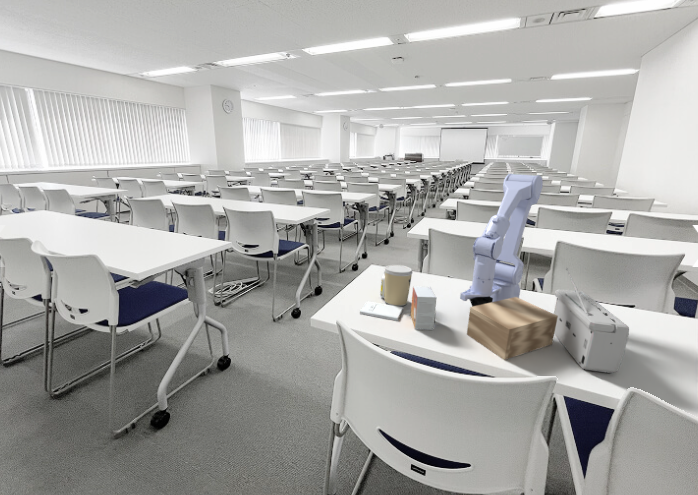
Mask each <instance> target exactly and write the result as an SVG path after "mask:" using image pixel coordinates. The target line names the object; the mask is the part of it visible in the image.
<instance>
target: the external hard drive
mask: <svg viewBox="0 0 698 495" xmlns="http://www.w3.org/2000/svg"><path fill="white" fill-rule="evenodd" d="M403 311H404V306H393V305H389V304H387V303H386V304H385V303H379V302H373V301H368V300H367V301H366V302H365V303H364V304H363V306H362V308H361V309H360V310H359V314H360V315H365V316H370V317H376V318H380V319H386V320H392V321H398V322H399V319H400V318H401V315H402V312H403Z"/></svg>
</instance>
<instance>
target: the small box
mask: <svg viewBox="0 0 698 495" xmlns="http://www.w3.org/2000/svg"><path fill="white" fill-rule="evenodd" d="M410 306H411V308H410V318H411V321H412V325H413V328H414V330H426V331H427V330H429V331H431V330H432V331H433V330H434V325H435V318H436V317H435V315H436V308H437V307H436V306H437V296H436V295H435V292H434V291H433V289H432V287H431V286H420V285H419V286H417V285H416V286H415V285H414V286H412V295H411V304H410Z"/></svg>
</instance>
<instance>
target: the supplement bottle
mask: <svg viewBox="0 0 698 495" xmlns="http://www.w3.org/2000/svg"><path fill="white" fill-rule="evenodd" d="M379 293H380V294H379V295H380V297H381V298H382V299H384V300H385V269H384V270H383V275H382V276H381V279H380V292H379Z"/></svg>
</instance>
